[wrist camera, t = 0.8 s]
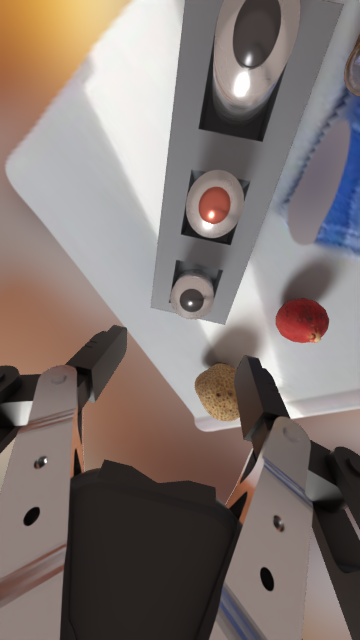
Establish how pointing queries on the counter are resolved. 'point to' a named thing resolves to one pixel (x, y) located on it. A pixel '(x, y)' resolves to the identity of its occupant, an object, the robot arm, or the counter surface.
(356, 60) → the tin
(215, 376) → the brown oval lump
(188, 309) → the knob
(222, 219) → the knob mid
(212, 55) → the mount
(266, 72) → the knob
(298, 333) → the onion
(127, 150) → the counter surface
